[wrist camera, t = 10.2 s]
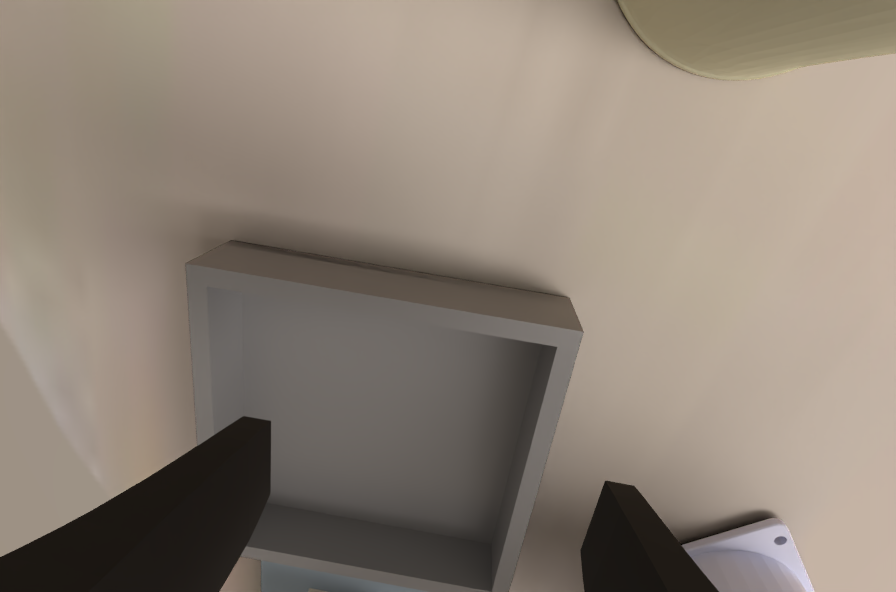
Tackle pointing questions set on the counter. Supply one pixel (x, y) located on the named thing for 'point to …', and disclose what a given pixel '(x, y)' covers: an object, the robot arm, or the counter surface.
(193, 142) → the counter surface
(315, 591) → the block
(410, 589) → the mat
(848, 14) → the can
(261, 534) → the gray square tray
